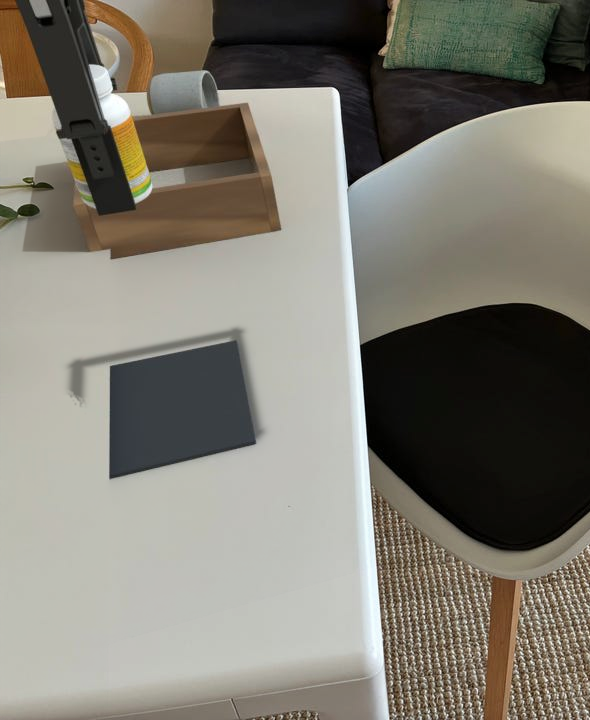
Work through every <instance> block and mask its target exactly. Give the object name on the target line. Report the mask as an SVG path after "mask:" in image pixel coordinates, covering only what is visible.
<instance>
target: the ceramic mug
mask: <svg viewBox="0 0 590 720" xmlns="http://www.w3.org/2000/svg"><path fill="white" fill-rule="evenodd" d="M219 95H220V94H219V90H218V87H217V83H216V81H215V78H214V77H213V75H212V73H211V72H210V71H208V70H204V69H202V70H193V71H182V72H181V71H180V72H167V73H166V72H165V73H160V74H158V75H154V76H152V77H151V78H149V81H148V83H147V86H146V103H147V106H148V110H149V113H150V115H154V114H162V113H170V112H178V111H186V110H193V109H201V108H209V107H217V106H221V101H220V96H219Z"/></svg>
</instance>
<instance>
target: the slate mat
mask: <svg viewBox="0 0 590 720" xmlns="http://www.w3.org/2000/svg"><path fill="white" fill-rule="evenodd" d="M249 403H250V402H249V398H248V392H247V387H246V382H245V377H244V371H243V366H242V360H241V355H240V350H239V343H238V340H236V339H235V340H230V341H225V342H220V343H216V344H211V345H210V344H209V345H206V346H200V347H196V348H192V349H186V350H182V351H175V352H171V353H166V354H161V355H155V356H152V357H151V356H150V357H147V358H142V359H138V360H133V361H126V362H122V363H117V364H113V365H112V364H111V365H109V425H108V426H109V430H108V431H109V433H108V435H109V443H108V445H109V447H108V448H109V449H108V452H109V453H108V455H109V456H108V459H109V460H108V478H109V479H114V478H119V477H122V476H127V475H131V474H135V473H141V472H145V471H149V470H151V469H152V470H153V469H157V468H160V467H164V466H169V465H173V464H177V463H180V462H181V463H182V462H186V461H189V460H193V459H197V458H202V457H207V456H210V455H214V454H219V453H223V452H227V451H231V450H236V449H240V448H244V447H248V446H252V445H256V444H257V439H256V434H255V429H254V424H253V418H252V413H251V408H250V404H249Z"/></svg>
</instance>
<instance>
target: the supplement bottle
mask: <svg viewBox="0 0 590 720" xmlns="http://www.w3.org/2000/svg"><path fill="white" fill-rule="evenodd" d="M89 67H90V70H91V73H92V77H93V80H94V84H95V87H96V91H97V94H98V97H99V101H100V104H101V108H102V111H103V115H104V118H105V120H107V122H108V126H111V129H112V132H113V136H114V139H115V142H116V145H117V148H118V151H119V154H120V157H121V160H122V164H123V167H124V170H125V173H126V176H127V179H128V182H129V185H130V188H131V192H132V195H133V198H134V201H135V204H136V203H138V202H140V201H142V200H144V199H145V198H146V197H148V195H149V194H150V193H151V191H152V188H153V182H152V181H153V180H152V177H151V174H150V172H149V171H148V168H147V165H146V161H145V158H144V155H143V151H142V148H141V145H140V142H139V138H138V135H137V132H136V128H135V125H134V122H133V118H132V117H133V115H132V112H131V109H130V107H129V104H128V103H127V102H126V100H125V99H123V97H121V96H119V95H117V94H115V93H112V92H113V91H112V90H113V87H112V82H111V80H110V78H111V77H110V75H109V71H108V69H107V68H106V67H105V66H104V67H105V68H104V67H102V66H99V65H89ZM51 111H52V112H51V119H52V123H53V126H54V129H55V132H56V131H57V130H58V129H61V127H62V126H61V123H60V120H59V117H58V115H57V112H56V109H55V106H54V107H53V109H52V110H51ZM59 142H60V145H61V148H62V150H63V153H64V155H65V158H66V161H67V164H68V166H69V169H70V172H71V174H72V177H73V179H74V184H75V183H76V185H77V188H78V191H79V193H80V195H81V198H82V200H83V201H84V203H85V204H87V205H88V206H90V207H93V208H96V207H95V204H94V201H93V198H92V196H91V193H90V190H89V187H88V184H87V182H86V179H85V176H84V173H83V171H82V168H81V165H80V162H79V159H78V157H77V154H76V151H75V148H74V146H73V143H72V140H71V139H66V138H65V139H59Z"/></svg>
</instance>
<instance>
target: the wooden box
mask: <svg viewBox="0 0 590 720" xmlns="http://www.w3.org/2000/svg"><path fill="white" fill-rule="evenodd" d="M132 118H133V122H134V125H135V128H136V132H137V135H138V138H139V142H140V145H141V148H142V151H143V155H144V158H145V161H146V165H147V168H148V171H149V173H153V172H157V171H159V172H161V171H166V170H171V169H180V168H185V167H186V168H187V167H193V166H199V165H200V166H201V165H206V164H213V163H222V162H228V161H236V160H240V159H241V160H242V159H248V158H249V160H250V163H251V167H252V170H253V172H252V173H251V172H250V173H246V174H245V173H244V174H238V175H233V176H232V175H231V176H225V177H219V178H210V179H205V180H198V181H191V182H184V183H179V184H172V185H165V186H159V187H152V191H151V193H150V194H149V195H148V197H146V198H145V199H144V200H142V201H140V202H138V203H136V210H132V211H126V212H120V213H114V214H108V215H101V216H99V215H98V212H97V209H96V208H93V207H90V206H88V205H87V204H85V203H84V201H83V200H82V198H81V195H80V193H79V191H78V188H77V185H76V183H75V182H74V189H73V201H72V202H73V203H72V207H73V209H74V212H75V215H76V217H77V220H78V222H79V225H80V228H81V231H82V233H83V236H84V239H85V241H86V243H87V246H88V249H89V251H90V253H95V252H100V251H101V252H102V251H106V250H110V260H113V259H114V260H115V259H119V258H125V257H130V256H137V255H143V254H148V253H154V252H155V253H156V252H161V251H166V250H172V249H178V248H185V247H189V246H195V245H202V244H208V243H213V242H219V241H224V240H230V239H238V238H243V237H248V236H254V235H261V234H266V233H272V232H279V231H282V224H281V219H280V213H279V208H278V204H277V203H278V202H277V198H276V193H275V192H276V191H275V186H274V181H273V176H272V173H271V170H270V166H269V163H268V161H267V157H266V154H265V151H264V148H263V145H262V142H261V139H260V135H259V133H258V130H257V126H256V123H255V120H254V117H253V114H252V111H251V107H250V104H249V102H241V103H240V102H239V103H233V104H225V105H220V106H217V107H209V108H201V109H193V110H186V111H178V112H170V113H162V114H154V115H151V114H148V115H146V114H145V115H139V116H132Z"/></svg>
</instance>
